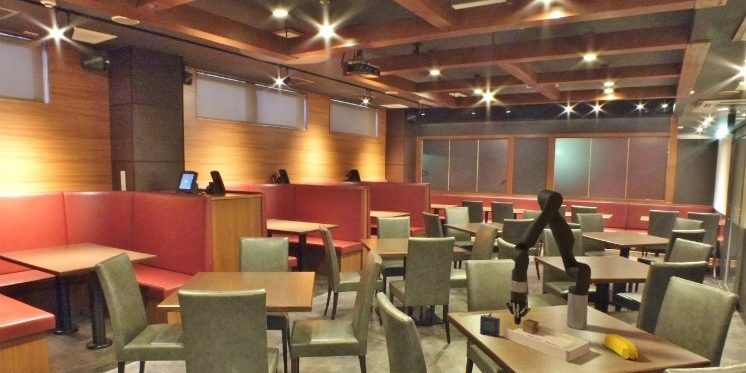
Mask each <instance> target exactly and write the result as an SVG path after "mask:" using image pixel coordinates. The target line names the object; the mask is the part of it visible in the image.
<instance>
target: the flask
mask: <svg viewBox="0 0 746 373" xmlns="http://www.w3.org/2000/svg"><path fill="white" fill-rule="evenodd" d="M492 315H493V313H492V312H489V313H488V314H485V313H484V314H481V315H480V321H479V323H480V324H479V334H480V335H483V336H486V337H487V336H488V337H489V336H490V337H496V338H497V337H500V332H501V331H500V330H501V326H500V325H501V317H500V316H492Z"/></svg>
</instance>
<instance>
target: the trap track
mask: <svg viewBox="0 0 746 373" xmlns="http://www.w3.org/2000/svg"><path fill="white" fill-rule="evenodd" d="M503 338H505V339H507V340H510V341H512V342H514V343H517V344H520V345H522V346H525V347H528V348H530V349H532V350H536V351H538V352H541V353H543V354H545V355H548V356H551V357H553V358H556V359H559V360H561V361H564V362H566V363H569V362H572V361H573V360H576V359H578V358H580V357H581V356H584V355H586V354H588V353H590V350H591V341H588V340H585V339H582V338H580V337H576V336H573V335H571V334H567V333H565V332H562V331H558V330H555V329H552V328H549V327H546V326H544V325H541V324H538V332H537V333H535V334H529V333H527V332H524V331H523V326H521V327H517V328H514V329H513V330H512V329H510V328H508V327H504V328H503Z"/></svg>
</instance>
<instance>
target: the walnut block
mask: <svg viewBox="0 0 746 373" xmlns="http://www.w3.org/2000/svg"><path fill="white" fill-rule="evenodd" d="M538 325H539V321H538V320H534V319H531V318H528V319H525V320H523V321H522V327H523V331H524V332H527V333H529V334H535V333H537V332H538Z"/></svg>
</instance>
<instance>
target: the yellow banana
mask: <svg viewBox="0 0 746 373" xmlns="http://www.w3.org/2000/svg"><path fill="white" fill-rule="evenodd" d="M603 345H604V346H605V347H606V348H607V349H609V350H611V351H613V352H615V353H616V354H617V355H619V356H620V357H621V358H623V359H624V360H627V359H630V360H636V359H639V350H638V347H637V346H636V345H635V344H634V343H633V342H631V341H630V340H628V339H626V337H623V336H622V335H619V334H617V333H613V334H610V333H608V334H607V335H606V336H605V337H604V340H603Z"/></svg>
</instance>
